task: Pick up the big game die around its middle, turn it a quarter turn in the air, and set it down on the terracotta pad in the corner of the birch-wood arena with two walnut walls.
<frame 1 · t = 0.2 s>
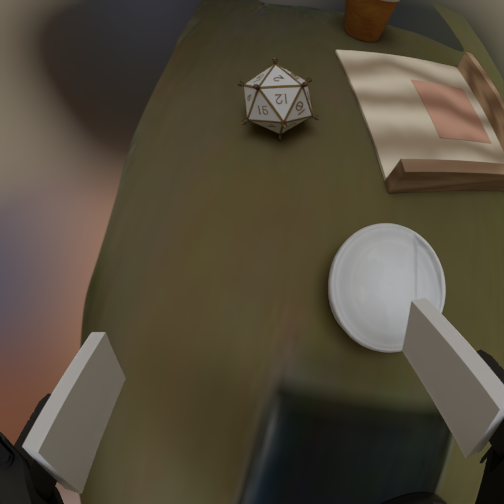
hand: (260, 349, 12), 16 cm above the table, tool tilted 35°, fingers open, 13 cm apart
disposable coffee cup: (361, 33, 38), on the table
ramekin: (372, 293, 28), on the table
arena: (435, 118, 33), on the table
game die: (277, 122, 33), on the table
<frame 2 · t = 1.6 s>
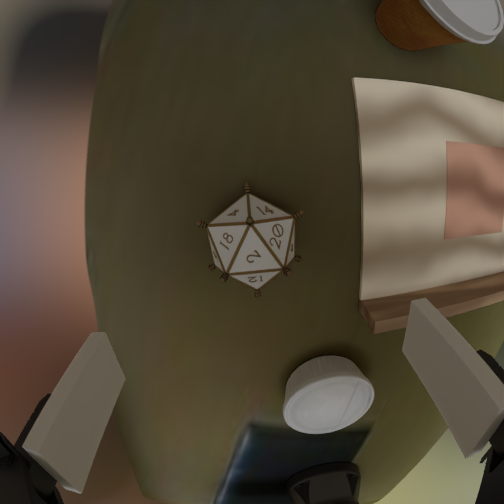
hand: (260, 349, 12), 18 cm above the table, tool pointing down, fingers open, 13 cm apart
disposable coffee cup: (400, 26, 22), on the table
ramekin: (321, 378, 36), on the table
arena: (452, 203, 28), on the table
game die: (251, 228, 29), on the table
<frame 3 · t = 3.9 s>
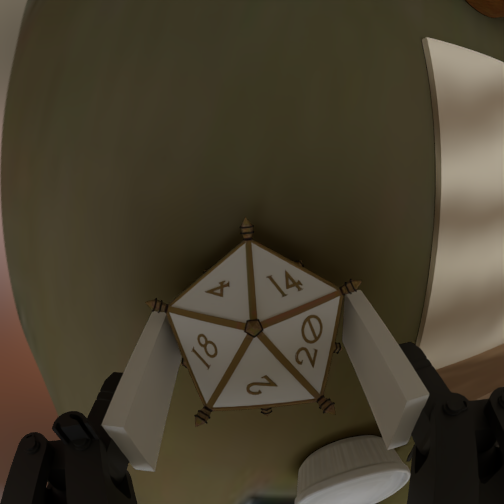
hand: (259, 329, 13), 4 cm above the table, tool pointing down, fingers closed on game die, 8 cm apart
ramekin: (344, 456, 24), on the table
game die: (255, 288, 17), on the table, touching gripper
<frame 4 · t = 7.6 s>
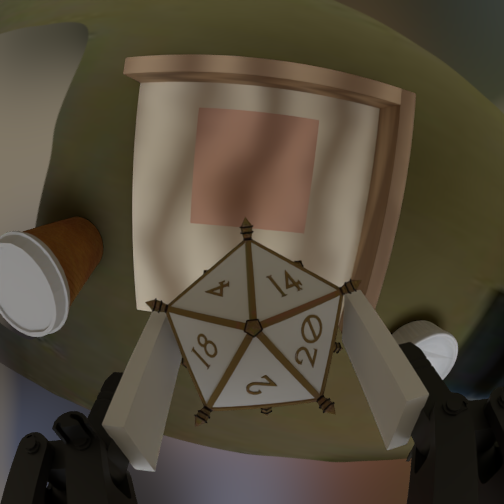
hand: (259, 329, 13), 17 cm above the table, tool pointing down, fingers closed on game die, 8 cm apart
disposable coffee cup: (80, 243, 30), on the table
ramekin: (407, 345, 36), on the table
arena: (264, 212, 29), on the table
game die: (255, 288, 17), point 13 cm above the table, touching gripper
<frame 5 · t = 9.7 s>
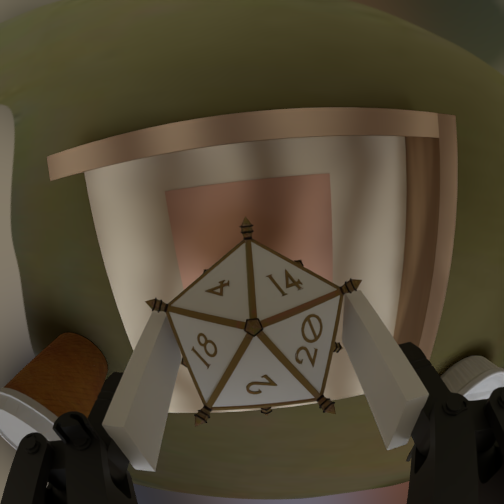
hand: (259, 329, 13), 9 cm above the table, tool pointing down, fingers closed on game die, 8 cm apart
disposable coffee cup: (81, 356, 25), on the table
ramekin: (455, 381, 29), on the table
arena: (279, 301, 23), on the table
game die: (255, 288, 17), point 5 cm above the table, touching gripper
when the fingers open (5 cm above the table, at t = 11.6 s): game die stays where it is, resting on arena.
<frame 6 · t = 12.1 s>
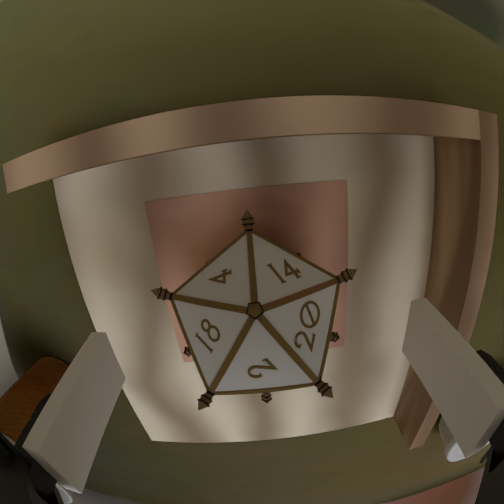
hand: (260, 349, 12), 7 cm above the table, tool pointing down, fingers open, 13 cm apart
disposable coffee cup: (64, 381, 22), on the table
ramekin: (468, 400, 25), on the table
arena: (284, 330, 19), on the table
game die: (255, 280, 17), resting on arena
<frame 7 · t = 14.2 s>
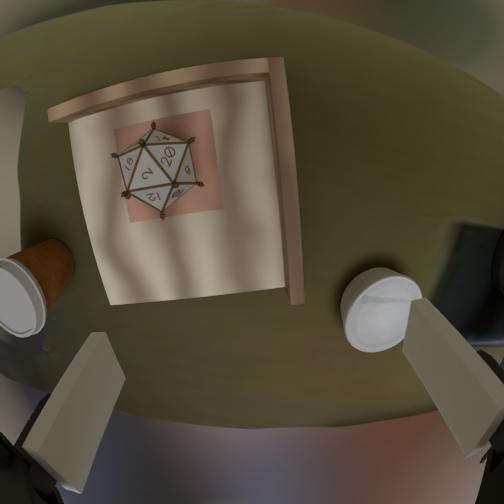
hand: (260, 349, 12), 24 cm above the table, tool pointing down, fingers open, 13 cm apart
disposable coffee cup: (57, 260, 35), on the table
ramekin: (370, 296, 39), on the table
arena: (186, 199, 33), on the table
game die: (166, 165, 31), resting on arena
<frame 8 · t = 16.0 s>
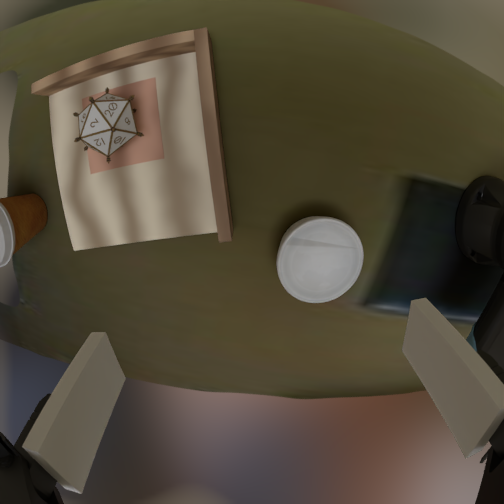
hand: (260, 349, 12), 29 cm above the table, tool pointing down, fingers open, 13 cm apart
disposable coffee cup: (34, 212, 38), on the table
ramekin: (312, 248, 41), on the table
arena: (135, 152, 36), on the table
game die: (120, 125, 34), resting on arena
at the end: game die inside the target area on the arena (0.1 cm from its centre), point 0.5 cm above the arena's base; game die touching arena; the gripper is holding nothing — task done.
